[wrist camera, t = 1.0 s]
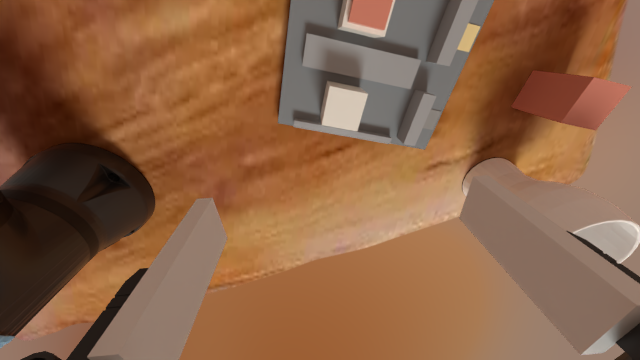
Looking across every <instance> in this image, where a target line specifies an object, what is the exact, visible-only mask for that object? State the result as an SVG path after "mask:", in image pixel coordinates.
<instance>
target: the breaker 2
mask: <svg viewBox="0 0 640 360" xmlns="http://www.w3.org/2000/svg"><path fill="white" fill-rule="evenodd" d="M367 96H368V93H366V92H365V91H364V90H363V89H362V88H360V87H356V86H351V85H346V84H341V83H337V82H332V81H327V83H326V88H325V94H324V99H323V104H322V109H321V114H320V117H321V124H322V125H324V126H330V127H335V128H341V129H346V130H352V131H358V127H359V124H360V120H361V117H362V113H363V110H364V107H365V103H366V100H367Z"/></svg>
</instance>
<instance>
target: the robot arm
mask: <svg viewBox="0 0 640 360" xmlns="http://www.w3.org/2000/svg"><path fill="white" fill-rule="evenodd" d="M154 208H155V199H154V195H153V192H152V189H151V187H150V186H149V184H148V182H147V181H146V180H145V178H144V177H143V176H142V175H141V174H140V173H139V172H138V171H137V170H136V169H135V168H134V167H133V166H132V165H130V164H129V163H128V162H126V161H125V160H123V159H122V158H120V157H119V156H117V155H115V154H113V153H111V152H109V151H106V150H104V149H101V148H98V147H95V146H91V145H86V144H79V143H66V144H60V145H57V146H54V147H51V148H49V149H46V150H44V151H41V152H39V153H37V154H35V155H34V156H32V157H31V158H30V159H29V160H28V161H27V162H26V163H25V164H24V165H23V167H22V168H21V169H19V170H18V171H17V172H16V173H15V174H13V175H12V176H11V177H10V178H9V179H8V180H7V181H6V182H5V183H3V184H2V185H1V186H0V348H1V347H3V345H5V344H7V343H9V342H10V341H12V339H13V338H14V337H15V336H16V335H17V334H18V333H19V332H20V331H21V330H22V329H23V328H24V327H25V326H26V325H27V324H28V322H29V321H30V320H31V319H32V318H33V317H34V316H35V315H36V314H37V313H38V312H39V311H40V310H41V309H42V308H43V307H44V306H45V305H46V304H47V303H48V302H49V301H50V300H51V299H52V298H53V297H54V296H55V295H56V294H57V293H58V292H59V291H60V290H61V289H62V288H63V287H64V286H65V285H66V284H67V283H68V282H69V281H70V280H71V279H72V278H73V277H74V276H75V275H76V274H77V273H78V272H79V271H80V270H81V269H82V268H83V267H84V266H85V265H86V264H87V263H88V262H89V261H90V260H91V259H92V258H93V257H94V256H95V255H96V254H97V253H98V252H100V251H101V250H103V249H105V248H107V247H109V246H110V245H112V244H114V243H115V242H117V241H119V240H120V239H121V238H123V237H126V236H129V235H131V234H133V233H134V232H136V231H137V230H139V229H140V228H141V227H142V226H143V225H144V224H145V223H146V222H147V221H148V220H149V218H150V217H151V216H152V214H153V212H154ZM459 219H460V220H461V221H462V222H463V223H464V224H465V226H466V227H467V228H468V229H469V230H470V231H471V232H472V233H473V235H474V236H475V237H476V238H477V239H478V240H479V241H480V242H481V244H482V245H483V246H484V247H485V248H486V249H487V250H488V251H489V253H490V254H491V255H492V256H493V257H494V258H495V259H496V260H497V262H498V263H499V264H500V265H501V266H502V267H503V268H504V269H505V270H506V272H507V273H508V274H509V275H510V276H511V277H512V278H513V280H514V281H515V282H516V283H517V284H518V285H519V286H520V287H521V289H522V290H523V291H524V292H525V293H526V294H527V295H528V296H529V298H530V299H531V300H532V301H533V302H534V303H535V304H536V305H537V306H538V308H539V309H540V310H541V311H542V312H543V313H544V315H545V316H546V317H547V318H548V319H549V320H550V321H551V322H552V324H553V325H554V326H555V327H556V328H557V329H558V330H559V331H560V333H561V334H562V335H563V336H564V337H565V338H566V339H567V341H568V342H569V343H570V344H571V345H572V346H573V347H574V348H575V350H576V351H577V352H578V353H579V354H580V355H586V354H596V353H604V352H605V351H607V350H608V349H609V348H610V347H612V346H613V345H614V344H615V343H617V344H618V345H619V346H620V347H621V348H622V349H623V350H624V351H625V352H624V353H623V354H622V355H620V356H619V357H617V358H616V359H615V360H640V277H639V276H638V275H636V274H635V273H633V272H632V271H630V270H629V269H628V268H626V267H625V266H623V265H622V264H618V263H617V261H616V260H615V259H613V258H612V257H610V256H609V255H607V254H604V253H603V251H602V250H600V249H599V248H597V247H596V246H595V245H593V244H592V243H590V242H589V241H587V240H586V239H584V238H581V237H579V236H577V235H575V234H573V233H571V232H569V231H565V230H564V229H562V228H561V227H559V226H558V225H557V224H555V223H554V222H552V221H551V220H550V219H548V218H547V217H546V216H544V215H543V214H541V213H540V212H539V211H537V210H536V209H534V208H533V207H532V206H530V205H529V204H527V203H526V202H525V201H523V200H522V199H520V198H519V197H518V196H516V195H515V194H513V193H512V192H511V191H509V190H508V189H506V188H505V187H504V186H502V185H501V184H499V183H498V182H497V181H495V180H494V179H492V178H491V177H490V176H488V175H485V176H473V178H472V181H471V184H470V187H469V190H468V193H467V196H466V199H465V202H464V205H463V208H462V211H461V214H460V217H459ZM226 240H227V236H226V233H225V230H224V228H223V225H222V222H221V220H220V217H219V214H218V211H217V209H216V206H215V203H214V201H213V198H204V199H197V200H196V201H195V202H194V204H193V205H192V207H191V208H190V210H189V211H188V213H187V214H186V215H185V217H184V218H183V220H182V221H181V223H180V224H179V225H178V227H177V228H176V230H175V231H174V233H173V234H172V235H171V237H170V238H169V240H168V241H167V243H166V244H165V246H164V247H163V248H162V250H161V251H160V253H159V254H158V256H157V257H156V258H155V260H154V261H153V263H152V264H151V266H150V267H149V268H143V269H139V270H138V271H137V272H136V273H135V274H134V275H132V276H131V277H130V278H129V279H128V280H127V281H125V283H124V284H123V285H122V287H121V288H120V289H119V291H118V292H117V293H116V295H115V298H113V299H112V300H111V301H110V303H109V304H108V305H107V307H106V310H105V311H103V312H102V313H101V315H100V316H99V317H98V319H97V320H96V321H95V323H94V324H93V325H92V326H91V328H90V329H89V330H88V332H87V333H86V335H85V336H84V337H83V338H82V340H81V341H80V342H79V344H78V345H77V346H76V348H75V349H74V351H73V352H72V353H71V354H70V356H69V357H68V358H67V360H179V358H180V355H181V353H182V351H183V348H184V345H185V343H186V341H187V338H188V335H189V333H190V330H191V328H192V326H193V323H194V320H195V318H196V315H197V313H198V310H199V308H200V305H201V303H202V300H203V298H204V295H205V293H206V290H207V288H208V285H209V283H210V280H211V278H212V275H213V273H214V270H215V268H216V265H217V263H218V260H219V258H220V255H221V253H222V250H223V248H224V245H225V243H226ZM21 360H61V359H60V358H58V357H57V356H55V355H54V354H52V353H49V352H46V351H44V352H39V353H34V354H32V355H29V356H27V357H25V358H23V359H21Z"/></svg>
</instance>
